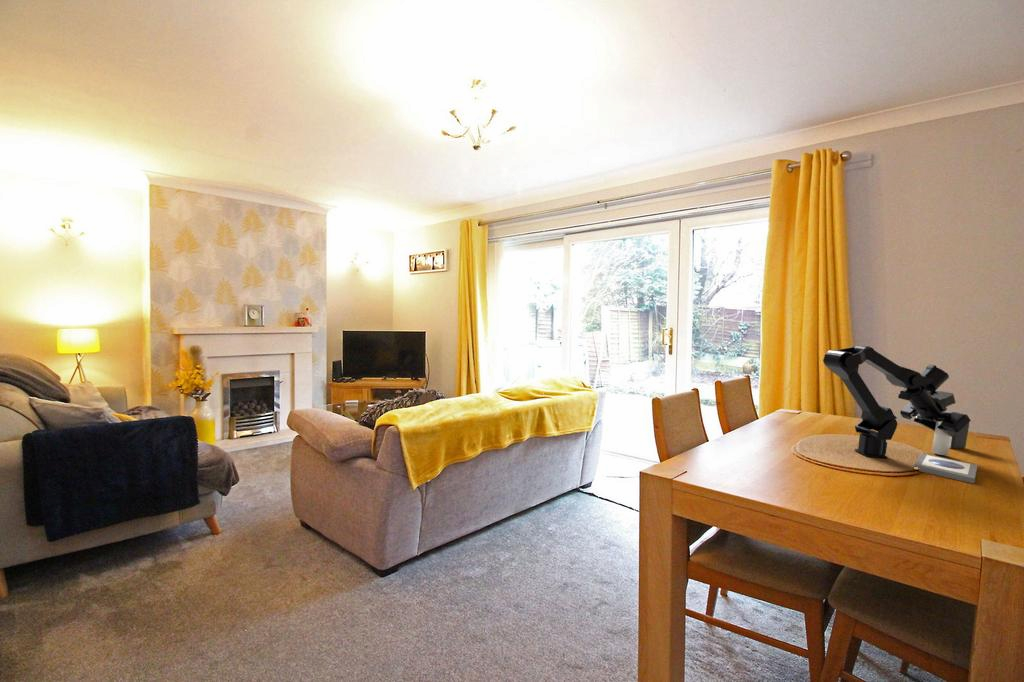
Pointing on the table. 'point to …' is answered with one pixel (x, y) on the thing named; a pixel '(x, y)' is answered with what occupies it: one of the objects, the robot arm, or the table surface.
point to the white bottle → (941, 440)
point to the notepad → (947, 467)
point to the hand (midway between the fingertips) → (946, 434)
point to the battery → (959, 438)
